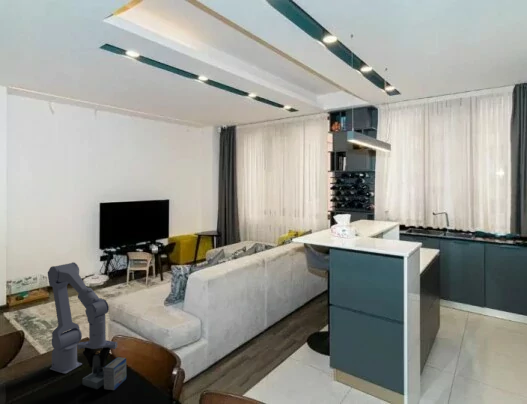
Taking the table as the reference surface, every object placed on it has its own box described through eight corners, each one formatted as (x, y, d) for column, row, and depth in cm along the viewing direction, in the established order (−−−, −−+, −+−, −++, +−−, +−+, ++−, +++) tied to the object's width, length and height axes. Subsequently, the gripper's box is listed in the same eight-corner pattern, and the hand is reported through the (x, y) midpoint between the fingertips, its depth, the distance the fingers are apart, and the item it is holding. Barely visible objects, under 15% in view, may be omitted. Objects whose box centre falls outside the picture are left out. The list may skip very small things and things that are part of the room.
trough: (82, 384, 125) (82, 378, 125) (99, 374, 132) (99, 368, 132) (97, 389, 122) (96, 383, 122) (113, 378, 129) (113, 372, 129)
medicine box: (113, 391, 122) (113, 368, 121) (103, 389, 123) (103, 367, 122) (126, 379, 129) (126, 357, 129) (117, 377, 130) (116, 356, 130)
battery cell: (90, 373, 125) (90, 354, 125) (95, 368, 129) (95, 349, 129) (100, 373, 125) (100, 354, 125) (105, 368, 129) (105, 349, 129)
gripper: (120, 327, 131) (120, 360, 131) (84, 327, 130) (84, 360, 131) (112, 335, 124) (113, 370, 124) (74, 335, 123) (74, 370, 124)
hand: (97, 366), depth 127 cm, fingers closed on battery cell, 4 cm apart
